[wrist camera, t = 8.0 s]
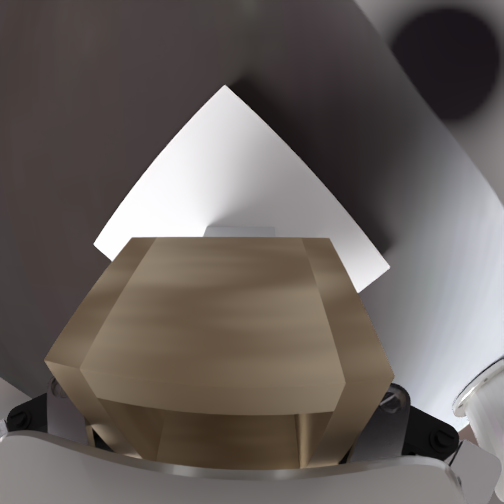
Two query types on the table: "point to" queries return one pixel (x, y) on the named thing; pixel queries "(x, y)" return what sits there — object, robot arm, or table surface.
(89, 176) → the table surface
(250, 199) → the plate
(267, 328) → the wooden collar
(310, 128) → the table surface
